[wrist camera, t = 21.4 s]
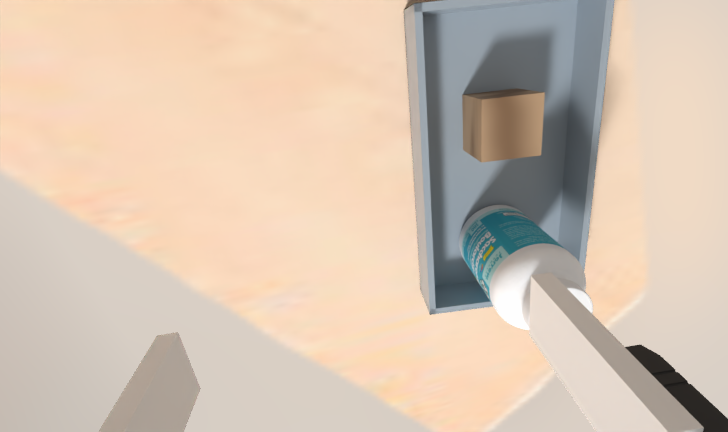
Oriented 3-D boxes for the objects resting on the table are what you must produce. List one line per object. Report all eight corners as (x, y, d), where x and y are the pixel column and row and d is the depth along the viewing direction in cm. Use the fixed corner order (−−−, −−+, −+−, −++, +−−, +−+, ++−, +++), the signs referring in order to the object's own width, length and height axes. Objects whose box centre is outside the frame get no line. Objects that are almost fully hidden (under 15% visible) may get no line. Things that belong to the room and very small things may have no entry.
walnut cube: (517, 88, 36) (544, 92, 31) (515, 143, 38) (540, 155, 33) (462, 94, 36) (481, 99, 31) (463, 149, 38) (481, 162, 33)
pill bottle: (456, 206, 40) (512, 275, 27) (529, 198, 40) (620, 262, 27) (457, 272, 42) (508, 362, 30) (525, 264, 43) (606, 350, 30)
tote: (403, 10, 34) (413, 3, 29) (581, -9, 34) (616, -19, 30) (420, 290, 43) (429, 314, 39) (557, 272, 44) (581, 294, 40)
